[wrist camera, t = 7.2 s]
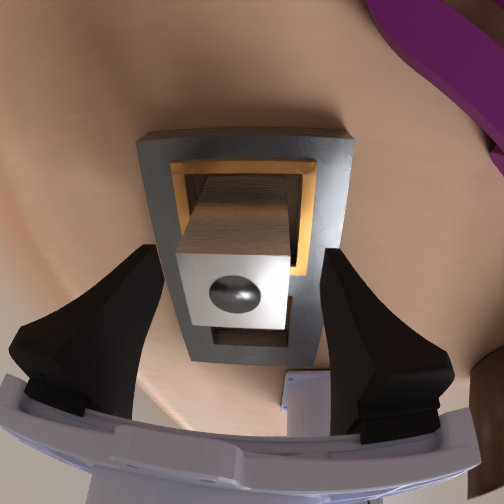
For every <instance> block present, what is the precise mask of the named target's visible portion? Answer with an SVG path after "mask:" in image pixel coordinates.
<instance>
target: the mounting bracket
mask: <svg viewBox="0 0 504 504" xmlns="http://www.w3.org/2000/svg"><path fill="white" fill-rule="evenodd" d="M493 1H494V2H495V3H497V4H498V5H499V6H500V7H501V8H503V9H504V0H493ZM365 2H366V5H367V8H368V11H369V13H370V16H371V18H372V20H373V22H374V24H375V26H376V27H377V29H378V31H379V32H380V34H381V35H382V37H383V38H384V40H385V41H386V42H387V43H388V45H389V46H390V47H391V48H392V50H393V51H394V52H395V53H396V54H397V55H398V56H399V57H400V58H401V59H402V60H403V61H404V62H405V63H407V64H408V65H409V66H410V67H411V68H413V69H414V70H415V71H416V72H417V73H419V74H420V75H421V76H423V77H424V78H425V79H427V80H428V81H429V82H430V83H432V84H433V85H434V86H435V87H437V88H438V89H439V90H440V91H442V92H443V93H444V94H445V95H446V96H448V97H449V98H450V99H451V100H452V101H453V102H454V103H456V104H457V105H458V106H459V107H460V108H461V109H462V110H463V111H464V112H465V113H467V114H468V115H469V116H470V117H471V118H472V119H473V120H474V121H475V122H476V123H477V124H478V125H479V126H480V127H481V128H482V129H483V130H484V131H485V132H486V133H487V134H488V135H489V136H490V137H491V138H492V139H493V140H494V142H495V143H496V144H497V145H496V146H495V147H494V149H493V150H492V152H491V153H490V157H491V160H492V161H493V163H494V164H495V166H496V167H497V168H498V169H499V171H500V172H501V174H502V175H503V176H504V49H503V48H502V47H501V46H499V45H498V44H497V43H496V42H495V41H494V40H493V39H492V38H490V37H489V36H488V35H487V34H486V33H484V32H483V31H482V30H481V29H480V28H478V27H477V26H476V25H475V24H473V23H472V22H471V21H469V20H468V19H467V18H465V17H464V16H463V15H461V14H460V13H459V12H457V11H456V10H455V9H453V8H452V7H450V6H449V5H447V4H446V3H444V2H443V1H441V0H365Z"/></svg>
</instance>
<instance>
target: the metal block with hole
mask: <svg viewBox="0 0 504 504" xmlns="http://www.w3.org/2000/svg"><path fill="white" fill-rule="evenodd" d="M176 258H177V263H178V267H179V271H180V276H181V280H182V285H183V289H184V293H185V297H186V301H187V305H188V309H189V313H190V317H191V321H192V325H198V326H214V327H232V328H256V329H285V319H286V308H287V296H288V284H289V271H290V258H291V254H290V236H289V220H288V205H287V190H286V177H208V179H207V182H206V184H205V186H204V188H203V190H202V193H201V195H200V197H199V199H198V201H197V204H196V206H195V208H194V211H193V213H192V215H191V217H190V220H189V222H188V224H187V227H186V229H185V231H184V234H183V236H182V239H181V241H180V243H179V246H178V248H177V251H176Z"/></svg>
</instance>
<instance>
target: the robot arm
mask: <svg viewBox="0 0 504 504" xmlns="http://www.w3.org/2000/svg"><path fill="white" fill-rule="evenodd" d="M164 280H165V279H164V275H163V272H162V268H161V264H160V260H159V256H158V252H157V248H156V245H151V244H143V245H142V246H140V247H139V248H138V249H137V250H135V251H134V252H133V253H132V254H131V255H130V256H129V257H127V258H126V259H125V260H124V261H123V262H122V263H121V264H120V265H118V266H117V267H116V268H115V269H114V270H113V271H112V272H111V273H109V274H108V275H107V276H106V277H104V278H103V279H102V280H101V281H100V282H98V283H97V284H96V285H95V286H93V287H92V288H91V289H90V290H88V291H87V292H85V293H84V294H83V295H81V296H80V297H78V298H77V299H75V300H74V301H72V302H70V303H69V304H67V305H65V306H64V307H62V308H60V309H59V310H57V311H55V312H53V313H51V314H49V315H47V316H45V317H43V318H41V319H39V320H36V321H34V322H32V323H29V324H27V325H24V326H21V327H20V329H19V330H18V332H17V334H16V336H15V337H14V339H13V341H12V343H11V345H10V347H9V354H10V356H11V357H12V359H13V360H14V361H15V362H16V364H17V365H18V366H19V367H20V368H21V369H22V370H23V371H24V372H25V374H26V375H27V376H28V377H29V378H30V379H29V381H28V383H26V382H25V381H23V380H21V379H19V378H17V377H14V376H12V375H9V374H6V375H5V377H4V379H3V382H2V384H1V386H0V427H1V428H2V429H3V430H5V431H6V432H8V433H9V434H11V435H12V436H13V437H15V438H17V439H18V440H19V441H21V442H23V443H25V444H27V445H29V446H31V447H33V448H35V449H37V450H39V451H41V452H43V453H45V454H47V455H49V456H51V457H53V458H55V459H57V460H60V461H62V462H64V463H66V464H68V465H71V466H73V467H75V468H78V469H80V470H83V471H85V472H88V473H90V474H92V478H91V483H90V487H89V491H88V495H87V500H86V504H383V497H387V496H392V495H396V494H400V493H404V492H409V491H412V490H416V489H420V488H424V487H427V486H431V485H434V484H437V483H440V482H444V481H447V480H449V479H452V478H454V477H456V476H458V475H460V474H462V473H464V472H466V471H468V470H470V469H472V468H474V467H476V466H478V465H480V464H481V462H482V461H481V456H480V451H479V446H478V441H477V437H476V432H475V428H474V424H473V420H472V416H471V412H470V408H463V409H459V410H455V411H451V412H447V413H444V414H442V415H440V416H438V411H437V409H439V408H440V402H439V397H440V396H441V395H442V394H443V393H444V392H445V391H446V390H447V388H448V387H449V386H450V385H451V383H452V382H453V380H454V377H455V374H454V371H453V367H452V364H451V361H450V358H449V356H448V354H447V352H446V351H444V350H443V349H441V348H439V347H438V346H436V345H434V344H433V343H431V342H429V341H428V340H426V339H425V338H423V337H422V336H421V335H419V334H418V333H416V332H415V331H414V330H412V329H411V328H410V327H408V326H407V325H406V324H405V323H404V322H402V321H401V320H400V319H399V318H398V317H397V316H395V315H394V314H393V313H392V312H391V311H390V310H389V309H388V308H387V307H386V306H385V305H384V304H383V303H382V302H381V301H380V300H379V299H378V298H377V297H376V295H375V294H374V293H373V292H372V291H371V290H370V288H369V287H368V286H367V285H366V284H365V282H364V281H363V280H362V278H361V277H360V276H359V275H358V273H357V272H356V271H355V269H354V268H353V266H352V265H351V264H350V262H349V261H348V259H347V258H346V257H345V255H344V254H343V252H342V251H341V250H340V248H325V252H324V259H323V265H322V272H321V278H320V284H319V286H320V302H321V310H322V315H323V321H324V326H325V332H326V338H327V343H328V349H329V358H330V370H327V371H288V372H286V375H285V382H284V389H283V396H282V403H281V411H282V412H287V437H256V436H239V435H226V434H215V433H206V432H198V431H190V430H183V429H176V428H170V427H164V426H158V425H153V424H148V423H143V422H138V421H133V420H132V408H133V398H134V391H135V383H136V377H137V372H138V366H139V362H140V357H141V353H142V348H143V345H144V342H145V338H146V336H147V333H148V330H149V328H150V325H151V322H152V320H153V317H154V314H155V312H156V309H157V306H158V304H159V301H160V298H161V294H162V289H163V285H164Z"/></svg>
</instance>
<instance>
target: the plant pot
mask: <svg viewBox="0 0 504 504" xmlns="http://www.w3.org/2000/svg"><path fill="white" fill-rule="evenodd" d="M469 408H470V412H471V416H472V420H473V424H474V428H475V432H476V437H477V441H478V446H479V451H480V456H481V461H482V462H481V464H480V465H478V466H476V467H474V468H472V469H470V470H468V497H467V499H468V500H470V499H474V498H477V497H480V496H482V495H485V494H487V493H490V492H492V491H494V490H497V489H499V488H502V487H503V486H504V347H502V348H500V349H498V350H496V351H494V352H493V353H491V354H490V355H488V356H487V357H485V358H484V359H483V360H482V361H481V362H479V363H478V364H477V365H476V367H475V368H474V369H473V370H472V372H471V375H470V395H469Z"/></svg>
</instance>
